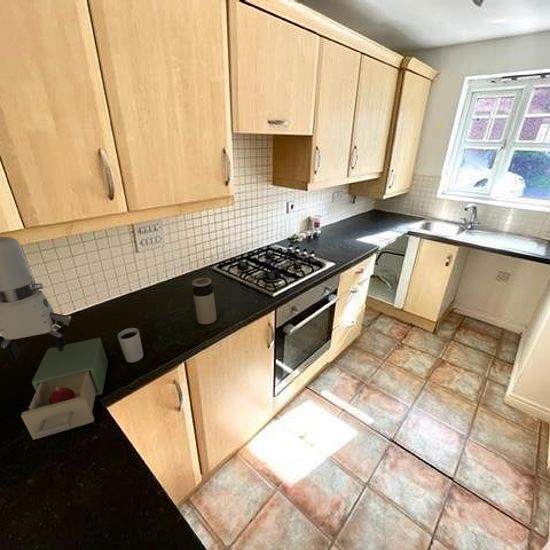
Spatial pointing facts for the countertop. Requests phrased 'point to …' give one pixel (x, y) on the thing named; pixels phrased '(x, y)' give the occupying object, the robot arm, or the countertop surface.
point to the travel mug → (204, 301)
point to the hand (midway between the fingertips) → (39, 352)
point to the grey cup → (131, 344)
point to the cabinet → (74, 363)
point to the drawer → (61, 406)
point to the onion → (61, 395)
